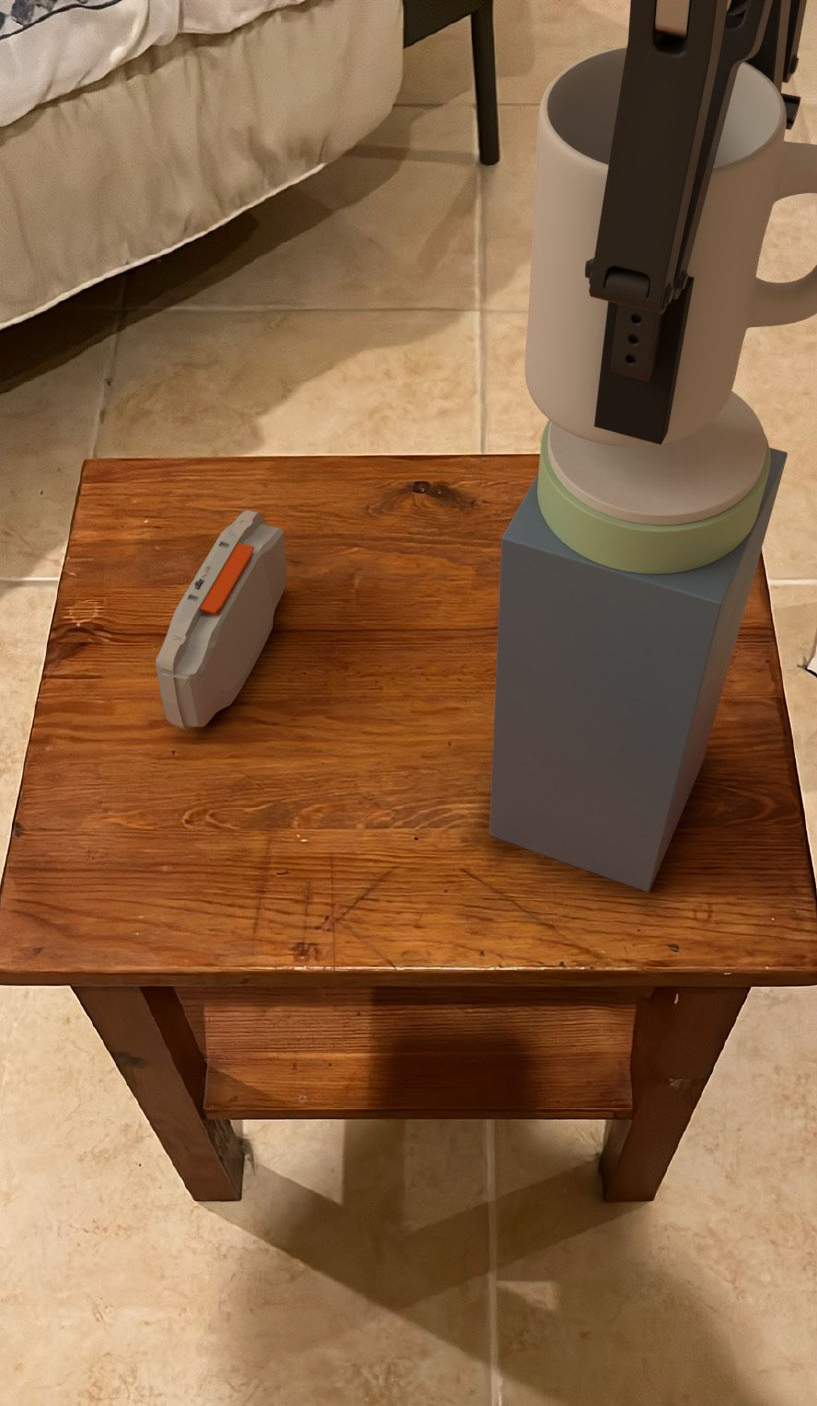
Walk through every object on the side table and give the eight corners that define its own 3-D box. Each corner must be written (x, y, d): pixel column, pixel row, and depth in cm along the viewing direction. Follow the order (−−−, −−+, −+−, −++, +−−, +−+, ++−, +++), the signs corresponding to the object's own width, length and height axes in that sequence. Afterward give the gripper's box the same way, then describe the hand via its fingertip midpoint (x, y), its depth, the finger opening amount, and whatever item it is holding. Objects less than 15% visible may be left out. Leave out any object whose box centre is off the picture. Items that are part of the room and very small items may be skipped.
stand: (702, 763, 80) (788, 451, 59) (648, 893, 75) (722, 603, 55) (549, 713, 82) (581, 395, 62) (488, 835, 78) (500, 537, 57)
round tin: (785, 452, 59) (801, 395, 57) (720, 601, 55) (734, 547, 52) (582, 397, 62) (588, 340, 59) (503, 536, 57) (506, 481, 54)
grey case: (259, 579, 89) (242, 488, 82) (298, 589, 88) (285, 499, 81) (168, 741, 82) (141, 656, 75) (210, 753, 81) (188, 669, 75)
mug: (526, 451, 52) (540, 182, 42) (522, 314, 56) (533, 42, 47) (833, 447, 51) (916, 174, 42) (804, 309, 56) (874, 33, 46)
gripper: (771, -555, 38) (664, 191, 58) (496, -277, 29) (479, 506, 48) (1032, -533, 37) (832, 228, 56) (832, -230, 27) (674, 563, 46)
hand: (669, 356), depth 52 cm, fingers closed on mug, 8 cm apart
